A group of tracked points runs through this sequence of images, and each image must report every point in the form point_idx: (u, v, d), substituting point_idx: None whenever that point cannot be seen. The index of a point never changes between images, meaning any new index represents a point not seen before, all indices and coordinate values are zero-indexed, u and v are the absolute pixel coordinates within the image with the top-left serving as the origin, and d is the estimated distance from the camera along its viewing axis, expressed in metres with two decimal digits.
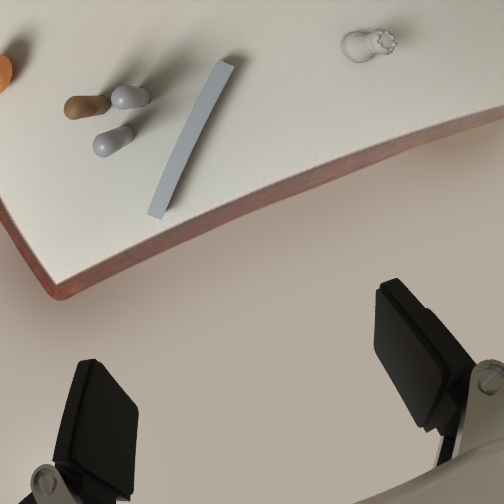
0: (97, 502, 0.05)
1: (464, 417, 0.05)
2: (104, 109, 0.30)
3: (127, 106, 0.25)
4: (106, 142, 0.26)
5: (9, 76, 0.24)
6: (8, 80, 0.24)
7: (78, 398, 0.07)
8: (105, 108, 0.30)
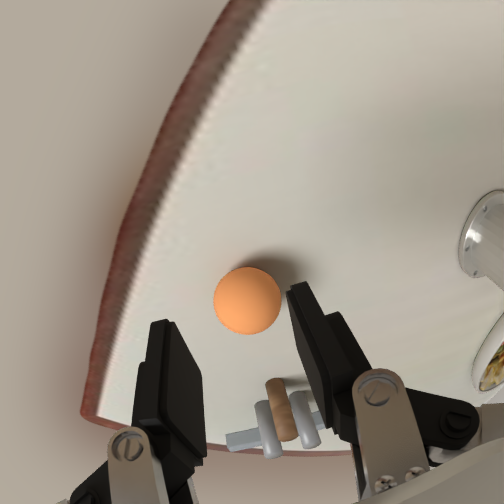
0: (181, 464, 0.06)
1: (360, 437, 0.05)
2: None
3: (307, 448, 0.33)
4: (277, 454, 0.33)
5: None
6: None
7: (159, 355, 0.08)
8: None
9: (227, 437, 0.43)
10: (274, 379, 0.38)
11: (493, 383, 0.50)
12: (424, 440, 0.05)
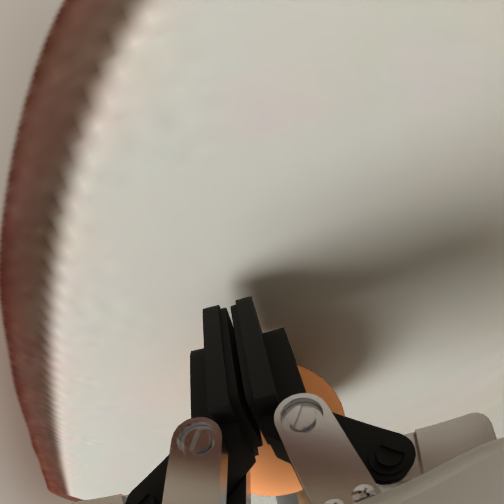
0: (247, 453, 0.06)
1: (294, 466, 0.05)
2: None
3: None
4: None
5: None
6: None
7: (218, 341, 0.08)
8: None
9: None
10: None
11: None
12: None
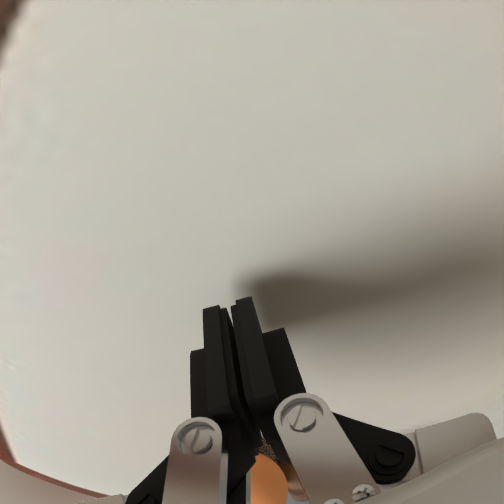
0: (247, 453, 0.06)
1: (294, 466, 0.05)
2: None
3: None
4: None
5: None
6: None
7: (218, 341, 0.08)
8: None
9: None
10: None
11: None
12: None
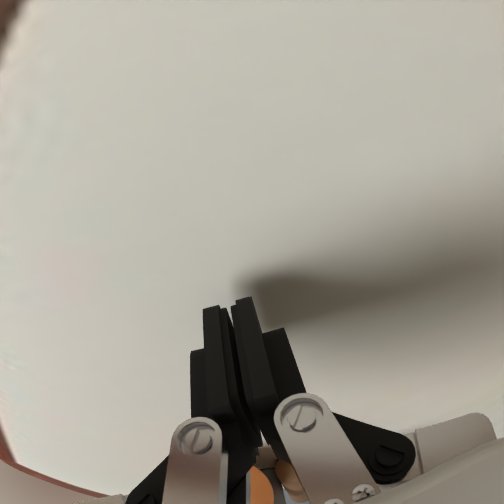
0: (247, 453, 0.06)
1: (294, 466, 0.05)
2: None
3: None
4: None
5: None
6: None
7: (218, 341, 0.08)
8: None
9: None
10: (296, 480, 0.17)
11: None
12: None
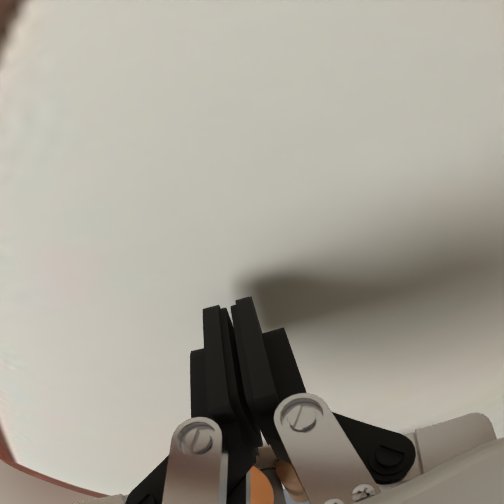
0: (247, 453, 0.06)
1: (294, 466, 0.05)
2: None
3: None
4: None
5: None
6: None
7: (218, 341, 0.08)
8: None
9: None
10: (298, 480, 0.17)
11: None
12: None
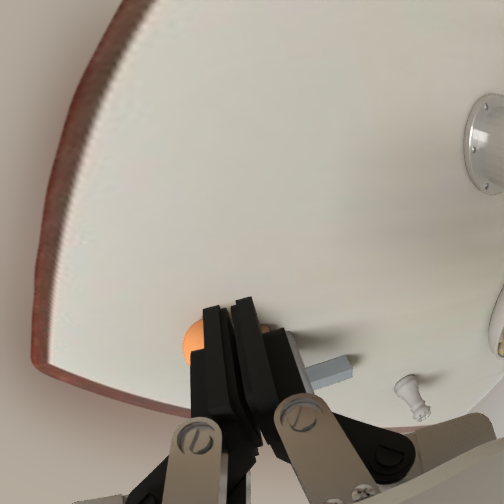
0: (247, 453, 0.06)
1: (294, 466, 0.05)
2: None
3: None
4: None
5: None
6: None
7: (218, 341, 0.08)
8: None
9: None
10: None
11: None
12: None
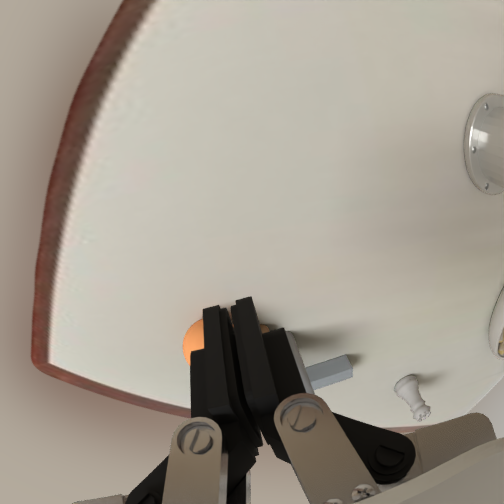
0: (247, 453, 0.06)
1: (294, 466, 0.05)
2: None
3: None
4: None
5: None
6: None
7: (218, 341, 0.08)
8: None
9: None
10: None
11: None
12: None
